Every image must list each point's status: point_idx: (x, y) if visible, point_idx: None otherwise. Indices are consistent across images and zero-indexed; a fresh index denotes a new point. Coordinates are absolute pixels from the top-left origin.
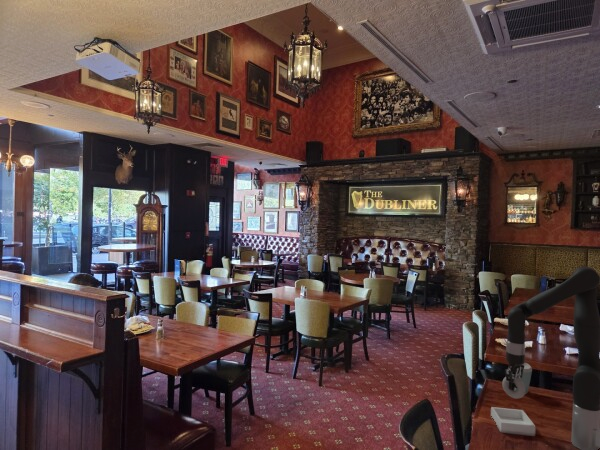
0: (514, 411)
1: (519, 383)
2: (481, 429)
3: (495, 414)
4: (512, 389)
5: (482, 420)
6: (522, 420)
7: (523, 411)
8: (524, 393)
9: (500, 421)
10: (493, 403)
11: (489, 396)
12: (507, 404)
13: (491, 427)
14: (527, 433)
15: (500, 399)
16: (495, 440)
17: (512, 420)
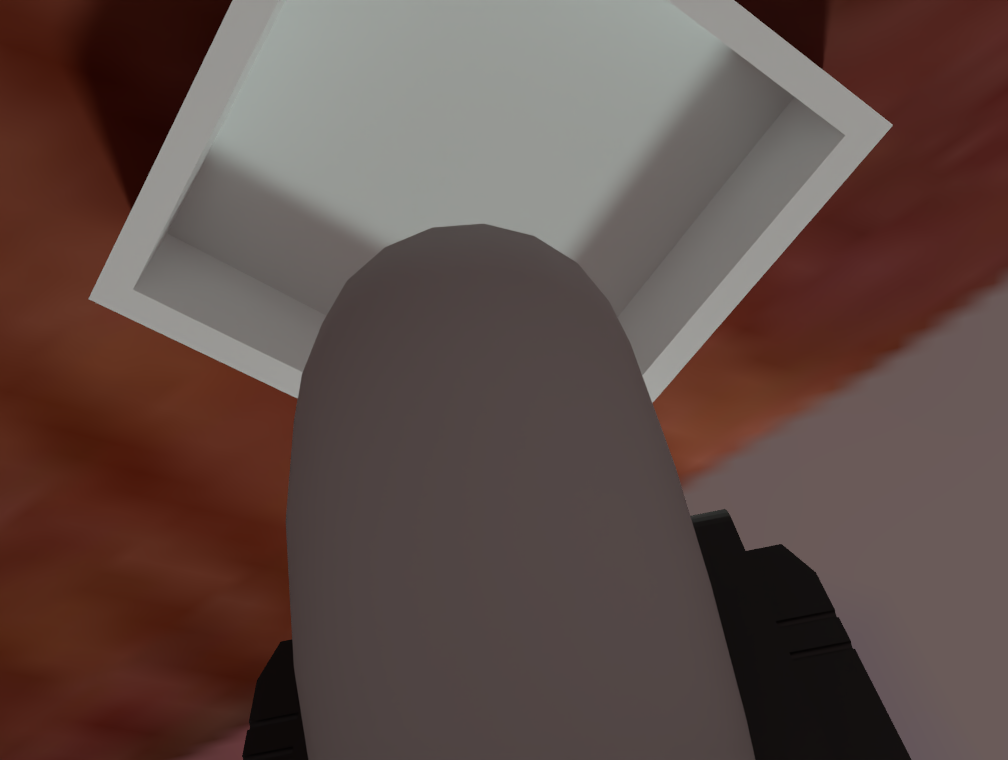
0: (252, 333)
1: (697, 678)
2: (981, 239)
3: (685, 355)
4: (766, 548)
5: (741, 392)
6: (208, 173)
7: (113, 260)
8: (453, 237)
9: (864, 156)
10: (211, 627)
11: (122, 740)
12: (27, 569)
13: (806, 228)
14: None
15: (27, 669)
16: None
17: (382, 229)
